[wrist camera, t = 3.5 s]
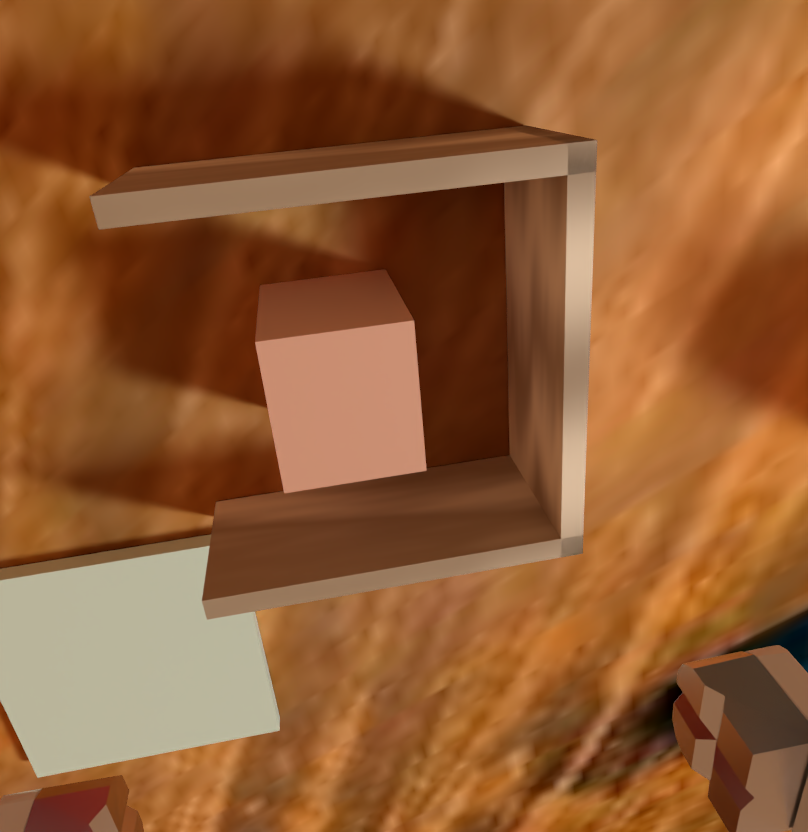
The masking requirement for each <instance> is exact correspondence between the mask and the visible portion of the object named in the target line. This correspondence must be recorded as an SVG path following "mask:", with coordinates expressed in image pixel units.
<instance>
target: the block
mask: <svg viewBox="0 0 808 832" xmlns="http://www.w3.org/2000/svg"><path fill="white" fill-rule="evenodd" d="M255 345H256V350H257V355H258V360H259V365H260V371H261V376H262V381H263V386H264V391H265V397H266V402H267V407H268V412H269V417H270V422H271V428H272V433H273V438H274V443H275V448H276V454H277V459H278V464H279V469H280V474H281V480H282V485H283V490H284V493H290V492H296V491H303V490H309V489H315V488H321V487H328V486H334V485H340V484H347V483H353V482H359V481H365V480H372V479H378V478H384V477H391V476H397V475H403V474H409V473H416V472H422V471H427V469H426V457H425V445H424V433H423V421H422V409H421V397H420V385H419V373H418V361H417V349H416V337H415V325H414V319H413V318H412V316H411V314H410V312H409V310H408V309H407V307H406V305H405V303H404V301H403V300H402V298H401V296H400V294H399V293H398V291H397V289H396V287H395V285H394V284H393V282H392V280H391V278H390V276H389V275H388V273H387V271H386V269H382V270H374V271H366V272H359V273H351V274H343V275H335V276H327V277H319V278H312V279H304V280H296V281H288V282H280V283H272V284H264V285H260V288H259V300H258V312H257V324H256V336H255Z"/></svg>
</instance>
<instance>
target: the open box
mask: <svg viewBox="0 0 808 832" xmlns="http://www.w3.org/2000/svg"><path fill="white" fill-rule="evenodd" d="M596 159H597V140H594V139H589V138H584V137H579V136H575V135H570V134H565V133H560V132H555V131H550V130H545V129H540V128H535V127H530V126H517V127H508V128H498V129H489V130H480V131H470V132H461V133H452V134H443V135H433V136H424V137H415V138H405V139H396V140H387V141H378V142H368V143H359V144H350V145H340V146H331V147H322V148H312V149H303V150H294V151H285V152H275V153H266V154H257V155H247V156H238V157H229V158H220V159H210V160H201V161H192V162H182V163H173V164H164V165H155V166H145V167H136V168H133V169H131V170H130V171H128V172H126V173H125V174H123V175H122V176H120V177H119V178H117V179H116V180H114V181H113V182H111V183H110V184H108V185H106V186H105V187H103V188H102V189H100V190H99V191H97V192H96V193H94V194H93V195H91V196H89V197H90V200H91V204H92V208H93V211H94V215H95V218H96V222H97V226H98V229H108V228H116V227H125V226H134V225H142V224H151V223H160V222H168V221H177V220H185V219H194V218H203V217H211V216H220V215H228V214H237V213H246V212H254V211H263V210H271V209H280V208H289V207H297V206H306V205H314V204H323V203H332V202H340V201H349V200H358V199H366V198H375V197H383V196H392V195H401V194H409V193H418V192H426V191H435V190H444V189H452V188H461V187H469V186H478V185H487V184H495V183H504V206H505V254H506V302H507V350H508V398H509V446H510V455H507V456H501V457H494V458H488V459H482V460H476V461H469V462H463V463H457V464H450V465H444V466H438V467H432V468H426V469H427V471H422V472H416V473H409V474H403V475H397V476H391V477H384V478H378V479H372V480H365V481H359V482H353V483H347V484H340V485H334V486H328V487H321V488H315V489H309V490H303V491H296V492H290V493H284V491H281V492H274V493H268V494H262V495H255V496H249V497H243V498H236V499H230V500H224V501H218V502H216V505H215V512H214V519H213V526H212V533H211V540H210V547H209V554H208V561H207V568H206V575H205V582H204V589H203V596H202V604H203V607H204V611H205V615H206V618H207V620H208V619H214V618H220V617H226V616H231V615H237V614H243V613H248V612H254V611H260V610H265V609H271V608H277V607H282V606H288V605H294V604H299V603H305V602H311V601H316V600H322V599H328V598H333V597H339V596H345V595H350V594H356V593H362V592H367V591H373V590H379V589H384V588H390V587H396V586H401V585H407V584H413V583H418V582H424V581H430V580H435V579H441V578H447V577H452V576H458V575H464V574H469V573H475V572H481V571H486V570H492V569H498V568H503V567H509V566H515V565H520V564H526V563H532V562H537V561H543V560H549V559H554V558H560V557H566V556H571V555H577V554H583V526H584V498H585V470H586V442H587V414H588V385H589V357H590V329H591V301H592V272H593V244H594V216H595V188H596Z"/></svg>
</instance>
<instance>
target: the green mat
mask: <svg viewBox="0 0 808 832" xmlns="http://www.w3.org/2000/svg"><path fill="white" fill-rule="evenodd" d="M210 540H211V534H210V535H203V536H197V537H191V538H185V539H179V540H173V541H167V542H161V543H155V544H148V545H142V546H136V547H130V548H124V549H118V550H112V551H106V552H100V553H93V554H87V555H81V556H75V557H69V558H63V559H57V560H51V561H45V562H38V563H32V564H26V565H20V566H14V567H8V568H2V569H0V701H1V703H2V705H3V707H4V709H5V711H6V713H7V715H8V717H9V719H10V721H11V724H12V726H13V728H14V730H15V732H16V734H17V736H18V738H19V740H20V742H21V744H22V746H23V748H24V750H25V752H26V755H27V757H28V759H29V761H30V763H31V765H32V767H33V769H34V771H35V773H36V775H37V777H43V776H49V775H54V774H59V773H64V772H69V771H74V770H79V769H84V768H90V767H95V766H100V765H105V764H110V763H115V762H120V761H125V760H131V759H136V758H141V757H146V756H151V755H156V754H161V753H166V752H172V751H177V750H182V749H187V748H192V747H197V746H202V745H208V744H213V743H218V742H223V741H228V740H233V739H238V738H243V737H249V736H254V735H259V734H264V733H269V732H274V731H279V730H280V716H279V712H278V708H277V703H276V699H275V695H274V691H273V686H272V682H271V678H270V674H269V669H268V665H267V661H266V657H265V652H264V648H263V644H262V640H261V636H260V631H259V627H258V623H257V619H256V614H255V611H254V612H248V613H243V614H237V615H231V616H226V617H220V618H214V619H208V620H207V618H206V615H205V611H204V607H203V604H202V596H203V589H204V582H205V575H206V568H207V561H208V554H209V547H210Z"/></svg>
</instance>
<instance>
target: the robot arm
mask: <svg viewBox="0 0 808 832" xmlns="http://www.w3.org/2000/svg"><path fill="white" fill-rule="evenodd" d="M677 684H678V685H679V687H680V688H681V690H682V691H683V693H682V694H681V695H680V696H679V698H678V699H677V700H676V701H675V702H674V705H673V717H672V720H673V725H674V730H675V734H676V738H677V741H678V743H679V746H680V748H681V751H682V753H683V755H684V756H685V758H686V760H687V762H688V763H689V765H690V767H691V769H693V770H694V771H696V772H698V773H699V774H701V775H702V776H704V777H705V778H707V779H708V780H710V782H709V791H708V798H709V799H710V801H711V803H712V804H713V806H714V808H715V809H716V811H717V813H718V814H719V816H720V818H721V819H722V821H723V823H724V824H725V826H726V828H727V829H728V831H729V832H782V831H788V830H792V832H808V673H807V672H806V671H805V670H804V668H803V667H802V666H801V665H800V664H799V663H798V662H797V661H796V659H795V658H794V657H793V656H792V655H791V654H790V653H789V652H788V650H786V649H785V648H783V647H781V646H779V645H776V646H770V647H765V648H760V649H755V650H750V651H746V652H742V651H741V652H736V653H732V654H727V655H722V656H717V657H713V658H708V659H703V660H699V661H694V662H689V663H684V664H683V665H682V666H681V667H680V668H679V670H678V676H677ZM128 794H129V789H128V787H127V785H126V782H125V780H124V778H123V776H122V775H120V776H113V777H107V778H101V779H96V780H90V781H84V782H78V783H72V784H66V785H60V786H54V787H48V788H42V789H37V790H31V791H26V792H21V793H15V794H10V795H4V796H3V797H2V798H1V800H0V832H144V830H143V824H142V821H141V818H140V815H139V813H138V811H137V810H135V809H133V808H131V807H129V806H127V799H128Z"/></svg>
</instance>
